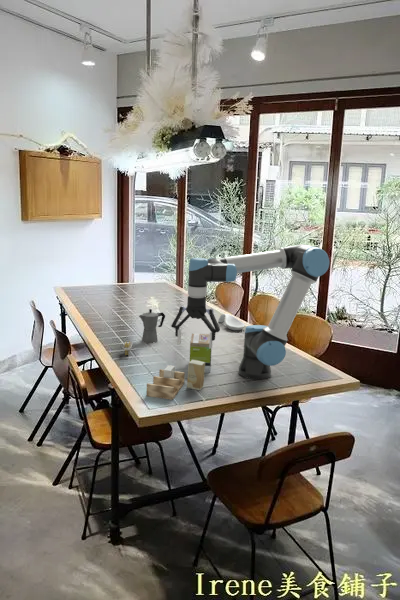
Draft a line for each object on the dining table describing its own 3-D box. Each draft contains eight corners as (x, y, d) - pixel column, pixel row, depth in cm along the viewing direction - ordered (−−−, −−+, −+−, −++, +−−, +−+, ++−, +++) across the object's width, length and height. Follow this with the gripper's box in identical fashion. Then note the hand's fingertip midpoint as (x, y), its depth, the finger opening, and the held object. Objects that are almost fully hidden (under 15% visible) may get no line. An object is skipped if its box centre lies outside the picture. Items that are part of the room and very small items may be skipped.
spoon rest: (248, 331, 289) (249, 320, 288) (231, 333, 284) (232, 321, 282) (228, 321, 310) (229, 311, 308) (212, 323, 304) (213, 312, 303)
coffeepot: (141, 344, 254) (142, 312, 250) (135, 339, 262) (136, 308, 258) (167, 341, 261) (168, 310, 257) (161, 336, 269) (162, 306, 265)
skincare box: (186, 389, 198) (187, 362, 195) (190, 386, 202) (191, 359, 199) (200, 392, 196) (201, 364, 193) (204, 388, 200) (205, 361, 197)
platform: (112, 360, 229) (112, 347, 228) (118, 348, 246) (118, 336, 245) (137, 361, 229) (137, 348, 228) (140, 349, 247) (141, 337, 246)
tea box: (190, 361, 232) (191, 332, 229) (210, 362, 232) (212, 333, 229) (188, 372, 217) (190, 342, 214) (210, 373, 217) (212, 343, 214)
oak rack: (184, 385, 202) (184, 372, 201) (172, 402, 186) (173, 387, 184) (159, 382, 204) (160, 369, 203) (146, 398, 188) (146, 384, 187)
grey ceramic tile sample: (174, 383, 201) (174, 365, 200) (170, 388, 196) (170, 370, 194) (167, 382, 202) (168, 365, 200) (163, 387, 196) (163, 369, 194)
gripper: (228, 297, 192) (225, 346, 197) (170, 291, 197) (168, 339, 202) (225, 300, 185) (222, 352, 190) (164, 295, 190) (163, 345, 195)
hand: (194, 345), depth 196 cm, fingers open, 13 cm apart
